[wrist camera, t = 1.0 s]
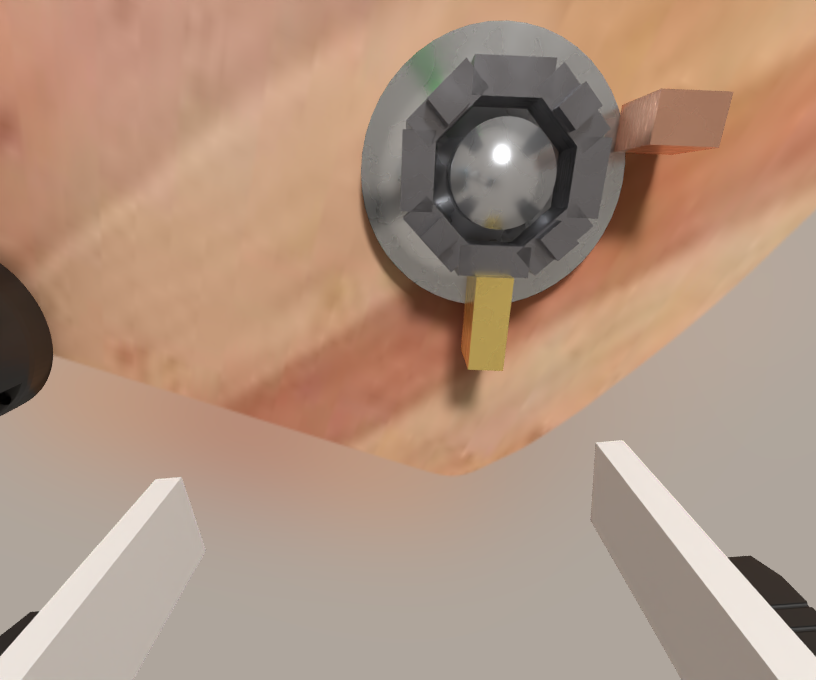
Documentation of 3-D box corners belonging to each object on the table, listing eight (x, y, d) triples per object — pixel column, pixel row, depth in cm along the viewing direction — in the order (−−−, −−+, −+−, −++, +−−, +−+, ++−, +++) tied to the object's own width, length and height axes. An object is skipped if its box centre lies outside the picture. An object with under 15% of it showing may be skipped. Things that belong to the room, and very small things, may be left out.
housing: (363, 296, 33) (354, 316, 27) (363, 23, 27) (352, -22, 21) (627, 305, 33) (671, 328, 27) (685, 38, 27) (758, -3, 21)
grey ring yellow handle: (405, 67, 26) (404, 44, 22) (601, 76, 26) (635, 54, 22) (396, 346, 32) (395, 368, 28) (555, 352, 32) (576, 374, 28)
